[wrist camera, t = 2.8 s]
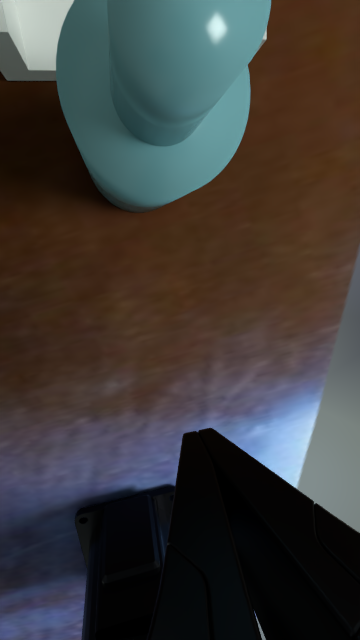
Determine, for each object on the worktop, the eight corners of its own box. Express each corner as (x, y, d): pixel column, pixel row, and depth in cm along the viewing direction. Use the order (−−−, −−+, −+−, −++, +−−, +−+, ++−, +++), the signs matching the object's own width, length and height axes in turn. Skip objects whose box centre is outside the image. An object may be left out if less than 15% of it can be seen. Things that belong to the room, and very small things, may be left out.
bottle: (187, 209, 14) (330, 168, 5) (95, 216, 13) (51, 182, 4) (180, 103, 13) (359, -240, 3) (77, 103, 12) (-52, -336, 3)
